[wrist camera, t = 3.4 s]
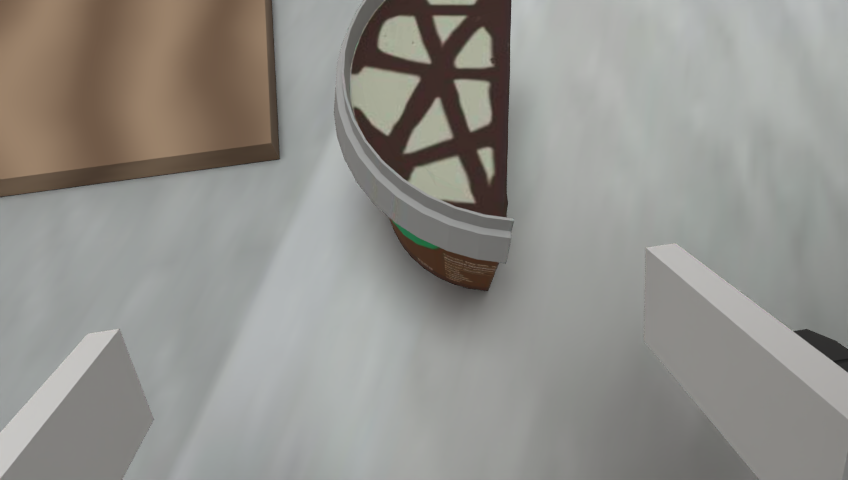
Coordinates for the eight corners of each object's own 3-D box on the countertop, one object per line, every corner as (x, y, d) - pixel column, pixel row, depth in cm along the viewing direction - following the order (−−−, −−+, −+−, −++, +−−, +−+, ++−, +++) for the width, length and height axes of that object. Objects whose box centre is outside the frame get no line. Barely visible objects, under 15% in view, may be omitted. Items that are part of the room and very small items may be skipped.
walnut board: (268, -72, 34) (260, -95, 33) (279, 158, 28) (271, 142, 27) (-1, -38, 34) (-20, -60, 33) (-46, 202, 28) (-71, 188, 27)
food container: (377, 85, 30) (348, -88, 21) (494, 90, 30) (519, -83, 20) (348, 314, 25) (294, 226, 16) (487, 323, 25) (513, 238, 16)
